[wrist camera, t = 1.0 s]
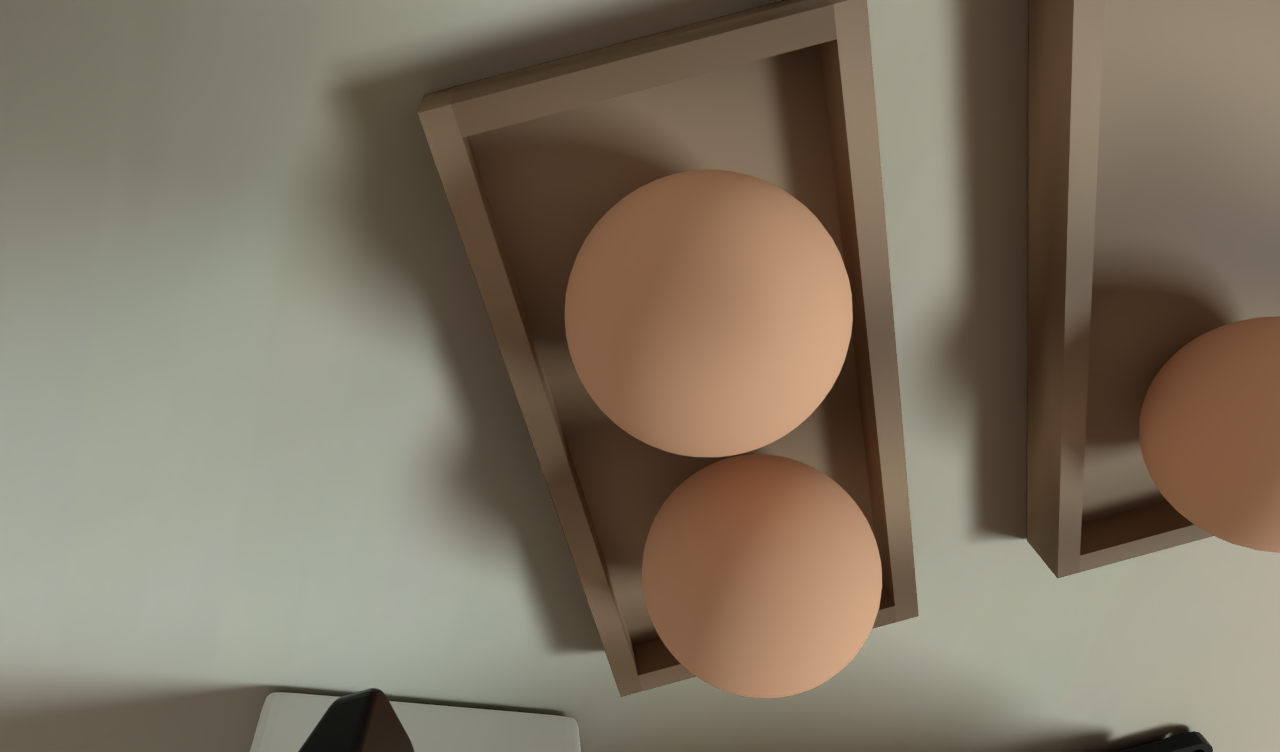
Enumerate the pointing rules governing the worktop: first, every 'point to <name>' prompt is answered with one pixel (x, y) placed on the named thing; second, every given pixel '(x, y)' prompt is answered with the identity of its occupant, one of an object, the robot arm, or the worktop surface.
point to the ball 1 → (708, 313)
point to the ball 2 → (762, 576)
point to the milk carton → (422, 727)
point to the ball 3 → (1220, 432)
